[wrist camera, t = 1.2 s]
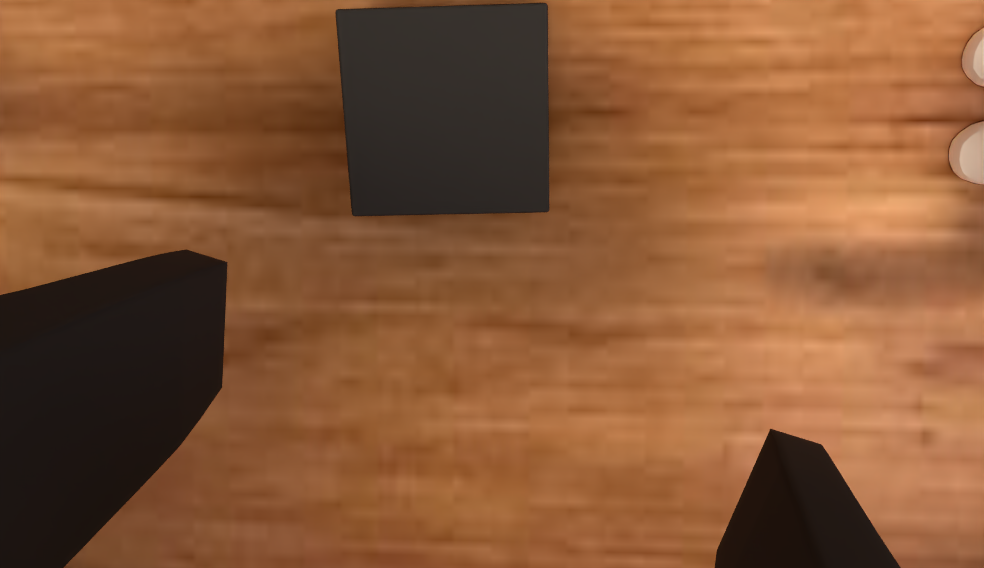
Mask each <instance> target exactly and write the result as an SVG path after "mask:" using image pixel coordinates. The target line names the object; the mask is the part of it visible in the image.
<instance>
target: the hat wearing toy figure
mask: <svg viewBox="0 0 984 568" xmlns="http://www.w3.org/2000/svg"><path fill="white" fill-rule="evenodd" d="M962 69H963V70H964V72H965V74H966V75H967V77H968V78H970V79H971V80H972V81H973V82H974V83H975V84H977V85H980V86H983V87H984V27H983V28H982V29H981V30H979V31H978V32H976V33H975V34H974V35H973V36H972V38H971V39H970V40H969V42H968V43H967V45H966V47H965V49H964V52H963V57H962ZM949 162H950V165H951V167H952V170H953V172H954V173H955V174H957V175H958V176H959V177H960V178H961V179H964V180H967V181H970V182H972V183H976V184H984V121H982V122H979V123H975V124H972V125H970V126H969V127H967V128H966V129H964V130H963V131H961V132H960V133H959V134H958V135H957V136H956V137H955V138H954V139H953V140H952V143H951V146H950V148H949Z"/></svg>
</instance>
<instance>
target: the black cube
mask: <svg viewBox="0 0 984 568" xmlns="http://www.w3.org/2000/svg"><path fill="white" fill-rule="evenodd" d="M336 24H337V36H338V49H339V61H340V73H341V85H342V98H343V110H344V122H345V135H346V147H347V159H348V172H349V184H350V196H351V208H352V215H353V216H390V215H438V214H486V213H534V212H548V211H549V105H548V6H547V4H546V3H526V4H494V5H461V6H429V7H396V8H364V9H338V10H336Z"/></svg>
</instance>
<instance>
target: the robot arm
mask: <svg viewBox="0 0 984 568" xmlns="http://www.w3.org/2000/svg"><path fill="white" fill-rule="evenodd" d="M226 283H227V262H225V261H222V260H218V259H215V258H212V257H209V256H205V255H202V254H199V253H196V252H192V251H189V250H181V251H174V252H169V253H164V254H159V255H155V256H151V257H146V258H142V259H138V260H134V261H130V262H127V263H123V264H119V265H115V266H111V267H108V268H104V269H100V270H97V271H93V272H89V273H85V274H82V275H78V276H74V277H70V278H66V279H63V280H59V281H55V282H51V283H48V284H44V285H40V286H36V287H33V288H29V289H25V290H20V291H16V292H12V293H7V294H3V295H0V568H64V566H65V565H66V564H67V563H68V562H69V561H70V560H71V559H72V558H73V557H74V556H75V555H76V554H77V553H78V552H79V551H80V550H81V549H82V548H83V547H84V546H85V545H86V544H87V543H88V542H89V541H90V540H91V538H92V537H93V536H94V535H95V534H96V533H97V532H98V531H99V530H100V529H101V528H102V527H103V526H104V525H105V524H106V523H107V522H108V521H109V520H110V519H111V518H112V517H113V516H114V515H115V514H116V513H117V512H118V511H119V509H120V508H121V507H122V506H123V505H124V504H125V503H126V502H127V501H128V500H129V499H130V498H131V497H132V496H133V495H134V494H135V493H136V492H137V491H138V490H139V489H140V488H141V487H142V486H143V485H144V484H145V482H146V481H147V480H148V479H149V478H150V477H151V476H152V475H153V474H154V473H155V472H156V471H157V470H158V469H159V468H160V467H161V466H162V464H163V463H164V462H165V461H166V460H167V459H168V458H169V457H170V456H171V455H172V454H173V453H174V452H175V451H176V449H177V448H178V447H179V446H180V445H181V444H182V442H183V441H184V440H185V438H186V437H187V436H188V434H189V433H190V432H191V430H192V429H193V428H194V426H195V425H196V424H197V422H198V421H199V420H200V418H201V417H202V415H203V414H204V413H205V411H206V410H207V408H208V407H209V405H210V404H211V402H212V401H213V400H214V398H215V397H216V395H217V394H218V392H219V391H220V389H221V388H222V376H223V353H224V330H225V306H226ZM715 568H900V566H899V565H898V563H897V562H896V560H895V559H894V557H893V556H892V554H891V553H890V551H889V550H888V548H887V547H886V545H885V544H884V542H883V540H882V539H881V537H880V536H879V534H878V533H877V531H876V530H875V528H874V527H873V525H872V523H871V522H870V520H869V519H868V517H867V515H866V514H865V512H864V511H863V509H862V507H861V506H860V504H859V503H858V501H857V500H856V498H855V496H854V495H853V493H852V492H851V490H850V488H849V487H848V485H847V483H846V482H845V480H844V479H843V477H842V475H841V474H840V472H839V471H838V469H837V467H836V466H835V464H834V463H833V461H832V459H831V458H830V456H829V455H828V453H827V452H826V450H825V449H824V447H823V446H822V445H821V444H818V443H815V442H812V441H808V440H805V439H802V438H799V437H795V436H792V435H789V434H786V433H782V432H779V431H776V430H773V429H770V431H769V433H768V436H767V438H766V440H765V442H764V445H763V447H762V449H761V452H760V454H759V456H758V458H757V461H756V463H755V465H754V467H753V470H752V472H751V474H750V477H749V479H748V481H747V483H746V486H745V488H744V490H743V492H742V495H741V497H740V499H739V502H738V504H737V506H736V508H735V511H734V513H733V515H732V517H731V520H730V522H729V524H728V526H727V529H726V531H725V533H724V536H723V538H722V540H721V542H720V545H719V547H718V549H717V554H716V562H715Z"/></svg>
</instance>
